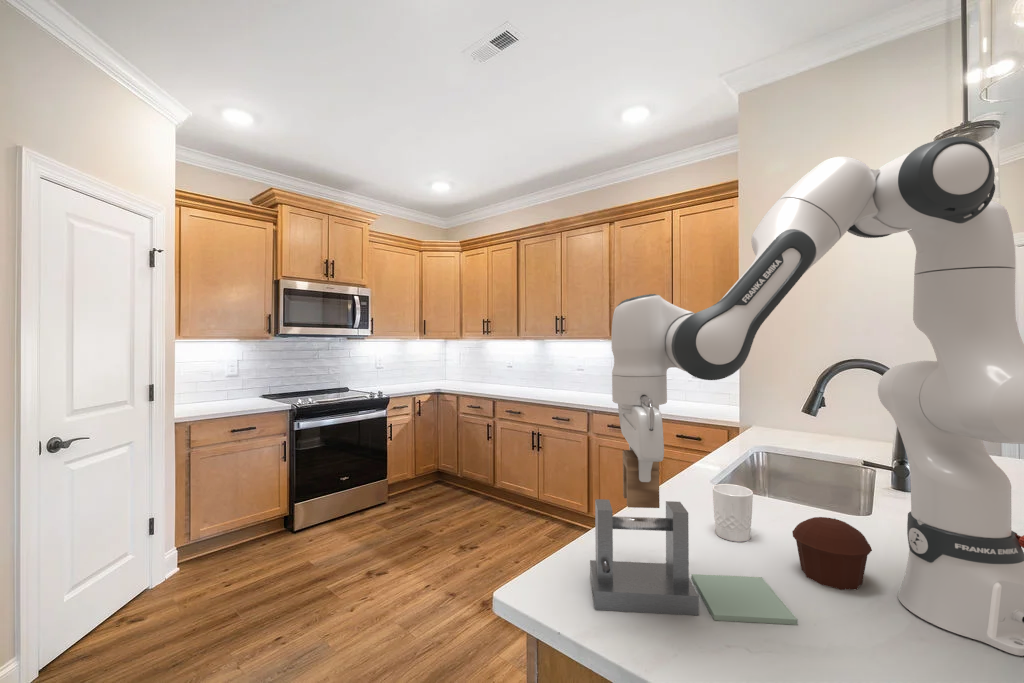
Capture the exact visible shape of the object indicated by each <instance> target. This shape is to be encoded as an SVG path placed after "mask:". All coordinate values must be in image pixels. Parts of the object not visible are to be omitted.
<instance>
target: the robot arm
mask: <svg viewBox="0 0 1024 683" xmlns="http://www.w3.org/2000/svg"><path fill="white" fill-rule="evenodd" d="M995 174H996V172H995V168H994V164H993V160H992V158H991V156H990V154H989V152H988V151H987V149H986V148H985V147H984V146H983V145H981V143H979V141H976V140H974V139H972V138H969V137H965V136H951V137H945V138H941V139H937V140H933V141H930V142H927V143H924V144H921V145H920V146H918V147H917V148H915V149H914V150H912V151H909V152H907V153H904V154H902V155H900V156H897V157H895V158H893V159H892V160H890V161H888V162H886V163H884V164H883V165H881V166H880V167H879V168H877V169H873V168H871V167H869V166H868V165H867V164H866V163H865V162H863V161H862V160H859V159H857V158H854V157H852V156H851V157H850V156H840V155H839V156H833V157H831V158H827V159H825V160H823V161H821V162H820V163H819V164H817V165H815V167H813V168H812V169H811V170H809V171H808V172H806V174H804V175H803V176H801V177H800V178H799V179H798V180H797V181H796V182H795V183H794V184H792V185H791V186H790V187H789V188H788V189H787V190H786V191H785V192H784V193H783V194H782V195H781V197H780V198H778V200H776V201H775V203H773V205H772V206H771V207H770V208H769V209H768V211H767V212H766V213H765V214H764V216H762V219H761V220H760V221H759V223H758V225H757V226H756V227H755V229H754V231H753V233H752V234H751V247H752V251H753V254H754V255H755V258H754V260H753V261H752V263H751V264H750V266H749V267H748V268H747V269H746V270H745V271H744V272H743V273H742V275H741V276H740V277H739V278H738V280H736V282H735V283H734V284H732V286H731V287H730V288H729V290H728V291H727V292H726V293H725V294H724V295H723V297H722V298H721V299H719V301H717V302H716V303H714V304H713V305H711V306H709V307H707V308H705V309H702V310H699V311H698V312H697V311H696V312H694V311H691V310H687V309H684V308H682V307H679V306H677V305H676V304H673V303H671V302H669V301H667V300H666V299H664V297H662V296H661V295H660V294H655V293H653V294H652V293H649V294H643V295H637V296H633V297H630V298H627V299H624V300H622V301H620V302H619V303H618V305H617V306H616V307H615V308H614V312H613V314H612V315H613V316H612V322H611V352H612V354H613V367H612V371H611V381H612V382H611V387H612V390H611V392H612V393H611V394H612V395H611V396H612V397H611V398H612V402H613V403H615V404H617V407H618V417H619V424H620V431H621V434H622V436H623V438H625V440H626V442H627V443H628V448H629V449H628V450H633V451H634V453H635V454H636V456H637V457H638V478H639V480H640V481H641V482H650V481H651V469H652V464H653V462H659V463H660V462H662V461H663V460H664V457H665V456H664V455H665V444H664V442H665V441H664V427H663V426H664V424H663V417H662V414H661V413H662V412H661V411H660V405H665V404H667V402H668V388H667V387H668V383H667V381H668V380H667V377H668V374H667V371H668V369H671V368H677V369H678V370H682V371H683V372H686V373H688V374H689V375H690V376H693V377H695V378H697V379H700V380H704V381H718V380H719V381H720V380H723V379H726V378H728V377H731V376H732V375H733V374H735V373H736V372H737V371H739V370H740V369H741V367H742V366H743V365H744V364H745V362H746V361H747V359H748V357H749V354H750V352H751V350H752V349H751V348H752V347H753V343H754V339H755V338H756V335H757V333H758V331H759V329H760V328H761V326H762V325H763V324H764V322H765V321H766V320H767V318H769V317H770V315H771V313H772V312H773V311H774V310H775V309H776V307H778V305H779V304H780V303H781V302H782V300H784V298H785V297H786V296H787V295H788V294H789V292H790V291H791V290H792V288H794V287H795V286H796V284H797V283H798V282H799V280H800V279H801V278H802V277H803V275H805V274H806V272H808V271H809V270H810V269H811V268H812V267H813V266H814V265H815V264H816V263H818V262H819V261H820V260H821V259H822V258H823V257H824V256H825V255H826V254H827V253H828V252H829V251H830V250H831V249H832V248H833V247H834V246H835V245H836V244H837V243H838V242H839V241H840V240H841V238H842V237H843V236H844V235H845V234H846V233H847V232H848V233H850V234H851V235H853V236H856V237H860V238H864V239H867V238H868V239H873V238H874V239H875V238H876V239H877V238H884V237H887V236H890V235H893V234H898V233H903V232H907V233H908V234H909V236H910V238H911V239H912V242H913V243H914V247H915V252H916V254H915V261H914V262H915V263H914V271H913V272H914V275H913V306H912V309H913V310H912V311H913V312H912V315H913V316H912V318H913V319H912V320H913V324H914V325H915V327H916V329H918V330H919V331H920V332H921V333H923V334H924V335H925V336H926V337H927V339H928V340H929V341H930V344H931V347H932V348H933V350H934V354H935V357H936V360H934V361H933V360H918V361H912V362H907V363H902V364H898V365H894V366H893V367H891V368H889V369H888V370H886V371H885V372H884V373H883V375H882V376H881V378H880V379H879V381H878V385H877V396H878V399H879V401H880V404H882V406H883V407H884V408H885V409H886V410H887V411H888V413H889V414H890V416H891V417H892V418H893V420H894V423H895V424H896V426H897V429H898V431H899V434H900V437H901V440H902V443H903V447H904V449H905V452H906V457H907V462H908V466H909V474H910V476H909V477H910V478H909V479H910V511H909V512H908V513H907V521H906V522H907V524H906V526H907V527H906V528H907V529H906V535H907V543H908V547H909V550H908V556H907V565H906V570H905V573H904V576H903V580H902V583H901V586H900V588H899V590H898V593H897V598H898V601H899V602H900V603H901V604H902V605H903V606H904V607H905V608H906V609H907V611H908V610H909V611H910V612H911V613H912V614H914V615H915V616H917V617H919V618H920V619H922V620H924V621H926V622H928V623H930V624H931V625H934V626H936V627H939V628H941V629H943V630H945V631H948V632H950V633H954V634H957V635H959V636H963V637H965V638H968V639H973V640H976V641H979V642H981V643H984V644H988V645H989V646H992V647H994V648H996V649H999V650H1000V651H1002V652H1003V651H1004V652H1006V653H1009V654H1012V655H1015V656H1022V657H1023V656H1024V550H1023V549H1024V535H1019V534H1018V533H1017V532H1016V531H1013V530H1012V483H1011V480H1010V478H1009V477H1008V475H1007V474H1006V472H1004V470H1003V469H1002V468H1001V467H1000V466H998V465H997V463H996V462H994V460H993V458H992V457H991V456H990V454H989V452H988V450H987V448H986V447H985V444H984V441H985V442H988V443H993V444H994V443H995V444H1009V445H1010V444H1012V445H1024V342H1023V339H1022V337H1021V334H1020V330H1019V328H1018V322H1017V315H1016V245H1015V240H1014V232H1013V228H1012V224H1011V219H1010V217H1009V213H1008V210H1007V209H1006V207H1005V206H1004V205H1002V204H1001V203H999V202H997V201H995V200H992V199H993V198H994V194H995V192H996V185H995V184H996V183H995V177H996V176H995Z"/></svg>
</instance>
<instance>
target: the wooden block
mask: <svg viewBox="0 0 1024 683" xmlns="http://www.w3.org/2000/svg"><path fill="white" fill-rule="evenodd" d="M622 492H623V493H622V496H623V498H624V499H626V505H627V506H626V507H627V508H634V509H635V508H637V509H638V508H639V509H641V508H642V509H660V504H661V503H660V462H653V464H652V469H651V481H650V482H641V481H640V480H639V478H638V457H637V456H636V454H635V453H634V451H633V450H630V449H622Z"/></svg>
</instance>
